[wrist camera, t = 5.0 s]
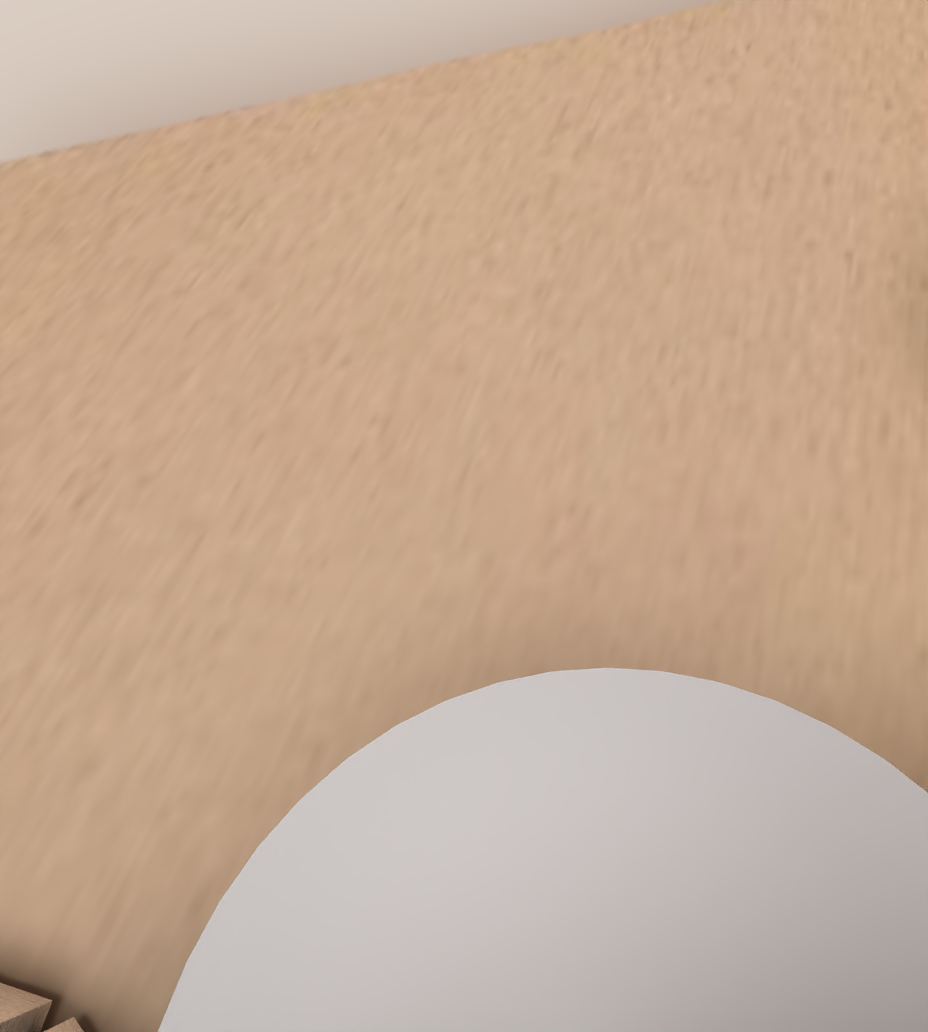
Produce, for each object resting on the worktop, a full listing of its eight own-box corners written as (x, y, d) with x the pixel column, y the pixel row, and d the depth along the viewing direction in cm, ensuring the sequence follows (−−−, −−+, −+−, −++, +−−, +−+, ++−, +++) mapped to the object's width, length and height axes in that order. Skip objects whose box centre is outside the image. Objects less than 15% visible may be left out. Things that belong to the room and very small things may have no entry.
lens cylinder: (694, 808, 15) (1176, 799, 4) (644, 1134, 13) (1263, 2380, 3) (428, 734, 15) (317, 577, 5) (346, 1034, 14) (-90, 1733, 3)
